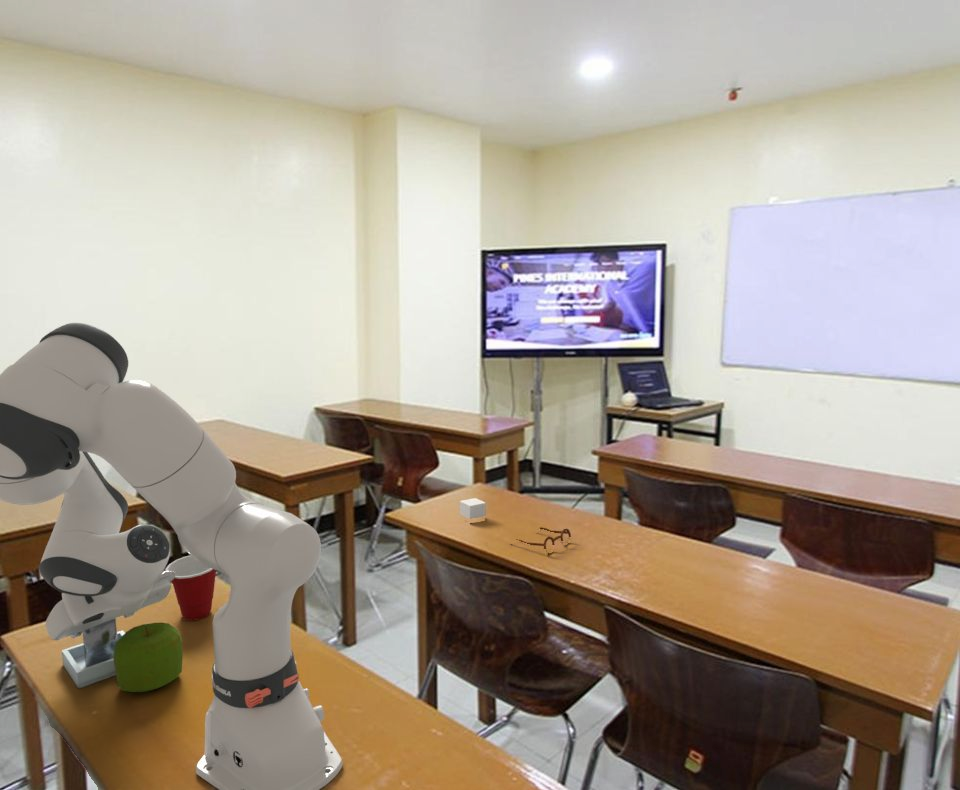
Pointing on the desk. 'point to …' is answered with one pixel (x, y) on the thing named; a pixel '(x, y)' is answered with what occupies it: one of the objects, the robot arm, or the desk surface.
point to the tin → (100, 642)
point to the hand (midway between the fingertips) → (101, 623)
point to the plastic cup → (193, 587)
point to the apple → (148, 657)
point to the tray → (83, 674)
